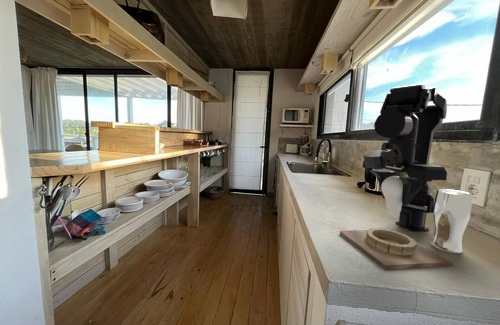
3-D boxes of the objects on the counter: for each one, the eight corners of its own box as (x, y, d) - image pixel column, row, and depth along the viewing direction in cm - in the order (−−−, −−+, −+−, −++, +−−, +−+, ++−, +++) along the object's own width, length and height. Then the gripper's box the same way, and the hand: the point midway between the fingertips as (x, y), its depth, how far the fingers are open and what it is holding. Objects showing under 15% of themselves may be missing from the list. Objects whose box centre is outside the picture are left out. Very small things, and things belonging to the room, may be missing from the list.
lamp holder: (391, 232, 64) (392, 222, 64) (452, 265, 48) (454, 253, 47) (339, 234, 62) (340, 224, 61) (385, 269, 45) (386, 256, 45)
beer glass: (468, 257, 51) (478, 197, 50) (431, 248, 55) (439, 192, 53) (459, 246, 57) (468, 191, 56) (426, 238, 61) (433, 187, 59)
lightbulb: (412, 225, 50) (418, 179, 49) (383, 222, 52) (388, 177, 50) (399, 216, 56) (404, 175, 55) (374, 213, 57) (378, 173, 56)
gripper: (347, 137, 60) (343, 192, 61) (405, 138, 41) (396, 215, 43) (383, 139, 61) (377, 192, 63) (454, 140, 43) (443, 214, 45)
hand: (394, 201), depth 53 cm, fingers closed on lightbulb, 6 cm apart
